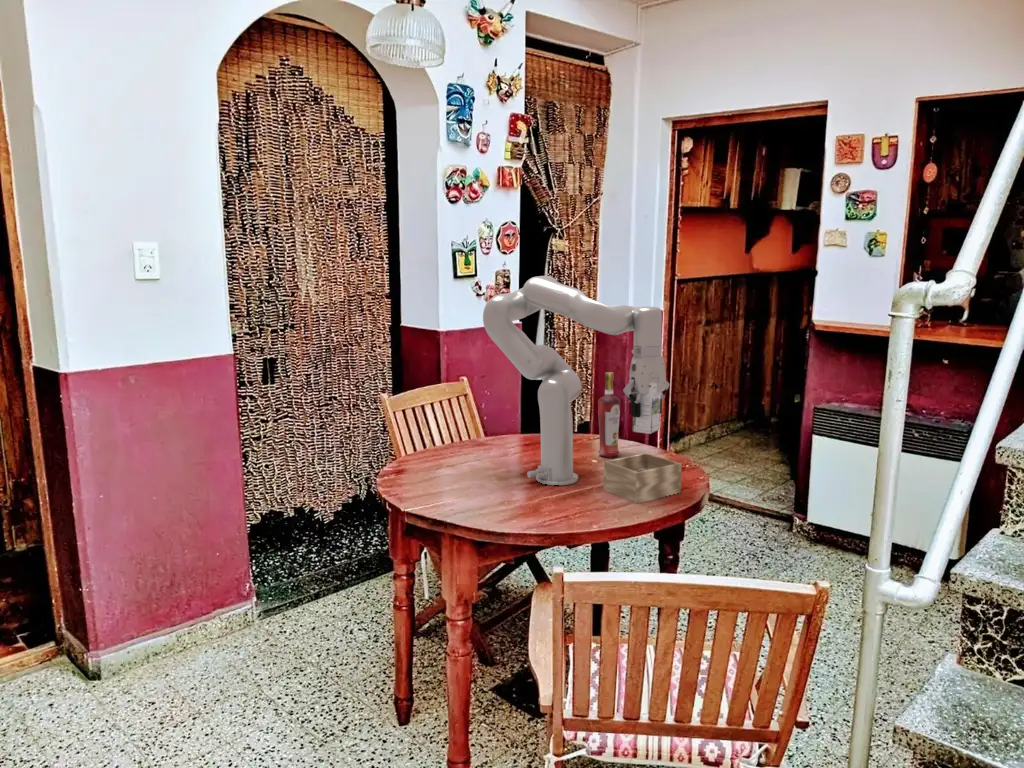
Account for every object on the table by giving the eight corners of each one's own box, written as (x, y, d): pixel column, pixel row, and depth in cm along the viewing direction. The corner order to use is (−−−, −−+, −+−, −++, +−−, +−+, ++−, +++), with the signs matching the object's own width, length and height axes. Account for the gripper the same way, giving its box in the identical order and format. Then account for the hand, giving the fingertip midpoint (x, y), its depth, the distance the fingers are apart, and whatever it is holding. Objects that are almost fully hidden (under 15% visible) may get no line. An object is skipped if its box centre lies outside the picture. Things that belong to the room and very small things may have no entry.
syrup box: (641, 428, 213) (642, 378, 211) (660, 430, 210) (661, 379, 207) (632, 431, 209) (632, 380, 206) (651, 434, 205) (652, 382, 203)
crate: (637, 503, 200) (638, 473, 199) (604, 490, 212) (604, 461, 210) (680, 492, 209) (681, 463, 207) (646, 480, 220) (646, 452, 219)
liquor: (610, 451, 253) (610, 370, 248) (624, 456, 247) (625, 373, 242) (593, 455, 249) (593, 372, 245) (607, 459, 243) (607, 375, 239)
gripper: (632, 355, 198) (631, 421, 201) (679, 350, 207) (678, 413, 210) (614, 353, 204) (613, 416, 207) (660, 348, 213) (659, 408, 216)
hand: (646, 414), depth 208 cm, fingers closed on syrup box, 7 cm apart
